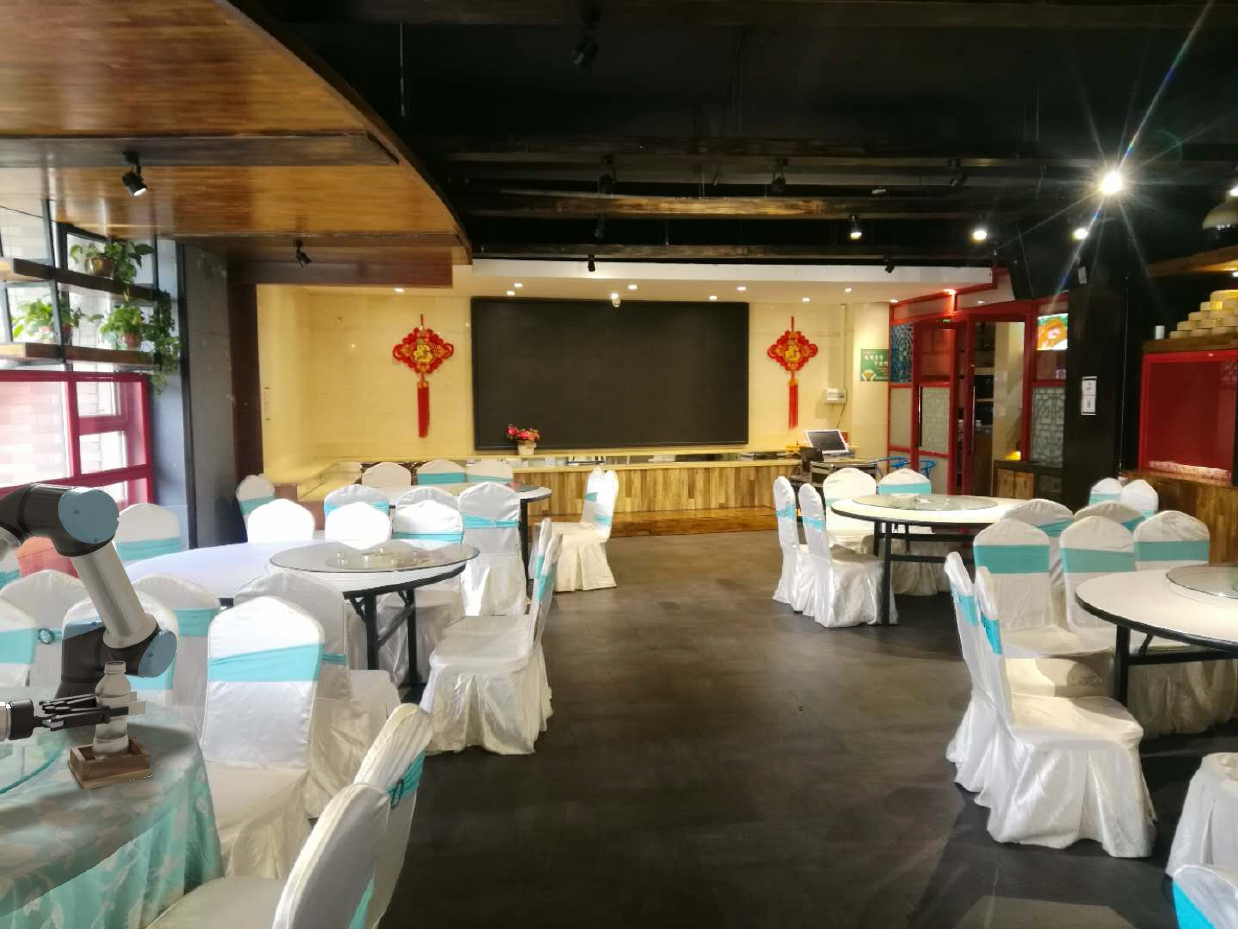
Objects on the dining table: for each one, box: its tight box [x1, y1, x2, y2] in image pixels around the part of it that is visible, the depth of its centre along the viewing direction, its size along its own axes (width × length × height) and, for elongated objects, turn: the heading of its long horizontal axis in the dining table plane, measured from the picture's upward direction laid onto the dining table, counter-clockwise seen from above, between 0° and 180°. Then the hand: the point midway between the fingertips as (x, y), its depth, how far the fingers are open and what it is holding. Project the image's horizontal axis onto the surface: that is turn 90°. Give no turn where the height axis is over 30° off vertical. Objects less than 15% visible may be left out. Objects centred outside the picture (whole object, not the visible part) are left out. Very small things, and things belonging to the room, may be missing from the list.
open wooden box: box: [67, 736, 153, 791], centre depth 174 cm, size 16×12×4 cm
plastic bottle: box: [92, 661, 132, 761], centre depth 174 cm, size 6×7×20 cm
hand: (140, 702), depth 177 cm, fingers closed on plastic bottle, 6 cm apart
